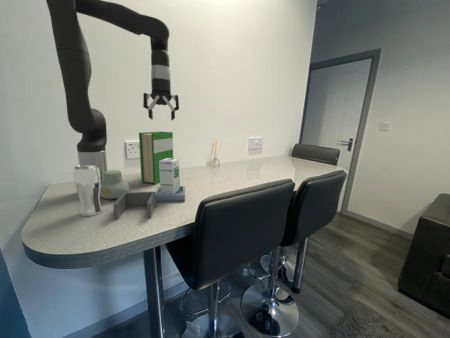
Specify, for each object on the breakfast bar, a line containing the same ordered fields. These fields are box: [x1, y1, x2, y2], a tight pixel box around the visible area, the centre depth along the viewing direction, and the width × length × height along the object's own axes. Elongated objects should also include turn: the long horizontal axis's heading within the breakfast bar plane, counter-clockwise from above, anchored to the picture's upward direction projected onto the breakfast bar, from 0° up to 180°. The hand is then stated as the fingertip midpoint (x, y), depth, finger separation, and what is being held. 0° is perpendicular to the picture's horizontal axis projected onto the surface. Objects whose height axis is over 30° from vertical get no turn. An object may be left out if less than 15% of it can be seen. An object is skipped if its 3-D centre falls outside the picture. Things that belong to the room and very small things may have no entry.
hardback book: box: [138, 131, 174, 185], centre depth 102 cm, size 18×7×24 cm, turn 166°
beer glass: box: [73, 165, 104, 217], centre depth 63 cm, size 7×7×15 cm
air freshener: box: [100, 169, 131, 200], centre depth 77 cm, size 11×8×10 cm
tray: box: [155, 185, 186, 203], centre depth 81 cm, size 11×11×2 cm
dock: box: [112, 191, 157, 220], centre depth 66 cm, size 10×10×5 cm
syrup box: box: [159, 157, 181, 195], centre depth 79 cm, size 6×6×14 cm
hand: (162, 119), depth 86 cm, fingers open, 8 cm apart
